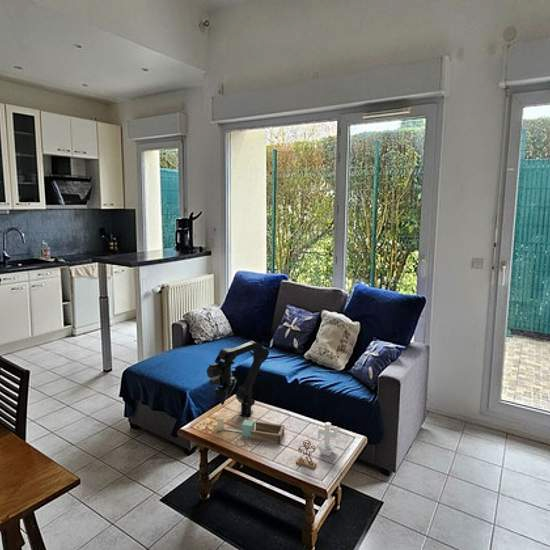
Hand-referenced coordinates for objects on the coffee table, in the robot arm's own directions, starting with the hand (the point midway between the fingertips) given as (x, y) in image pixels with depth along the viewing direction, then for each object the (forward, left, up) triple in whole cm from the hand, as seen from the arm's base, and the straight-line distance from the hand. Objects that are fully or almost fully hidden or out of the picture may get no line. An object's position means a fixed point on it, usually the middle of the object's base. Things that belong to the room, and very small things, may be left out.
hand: (225, 400), depth 224 cm
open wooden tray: (+8, +26, -12) cm, 29 cm away
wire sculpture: (+26, +48, -12) cm, 56 cm away
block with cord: (+8, +8, -12) cm, 17 cm away
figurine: (+14, +56, -12) cm, 59 cm away
